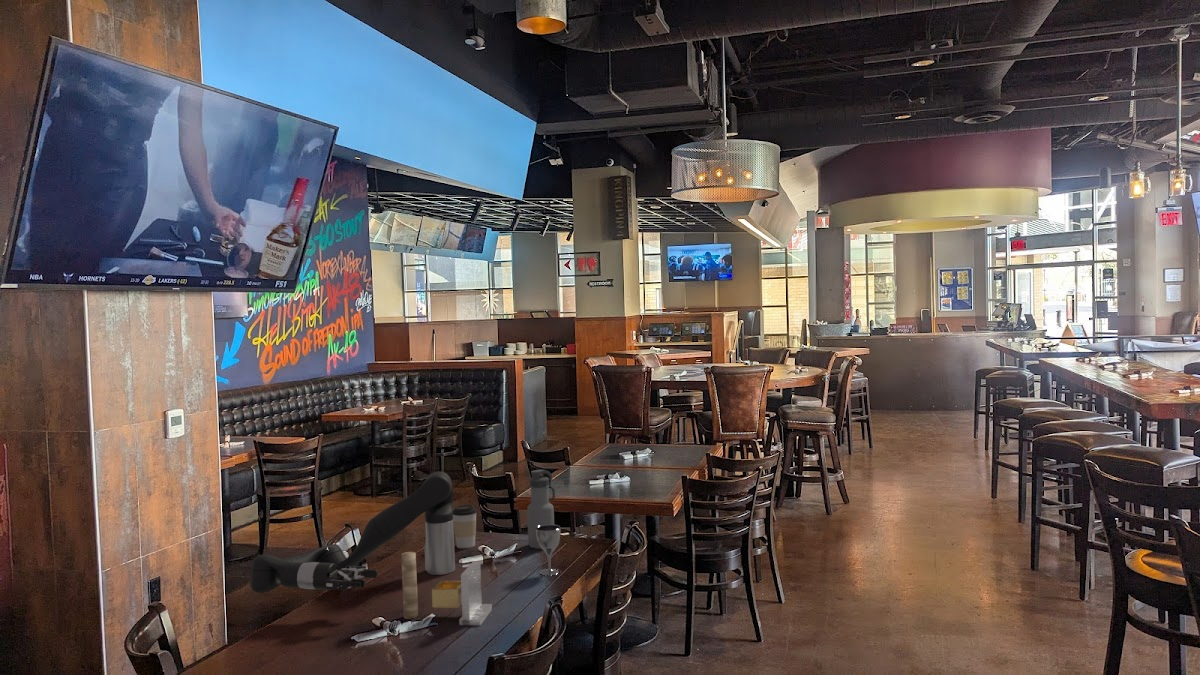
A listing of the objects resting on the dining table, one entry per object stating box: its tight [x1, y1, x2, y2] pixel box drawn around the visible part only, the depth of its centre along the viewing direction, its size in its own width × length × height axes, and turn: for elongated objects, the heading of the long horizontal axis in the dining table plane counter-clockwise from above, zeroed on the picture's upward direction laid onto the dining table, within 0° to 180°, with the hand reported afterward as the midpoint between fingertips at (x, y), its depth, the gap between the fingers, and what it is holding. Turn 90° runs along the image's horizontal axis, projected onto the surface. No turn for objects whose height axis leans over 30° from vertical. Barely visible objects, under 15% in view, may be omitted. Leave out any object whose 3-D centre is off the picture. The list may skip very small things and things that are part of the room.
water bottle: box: [526, 469, 556, 550], centre depth 286 cm, size 10×10×28 cm
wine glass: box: [536, 524, 561, 577], centre depth 255 cm, size 8×8×15 cm
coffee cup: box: [453, 504, 478, 549], centre depth 290 cm, size 9×9×15 cm
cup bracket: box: [431, 560, 493, 626], centre depth 219 cm, size 14×12×14 cm
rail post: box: [400, 551, 419, 620], centre depth 221 cm, size 4×4×18 cm
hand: (371, 578), depth 222 cm, fingers open, 8 cm apart
